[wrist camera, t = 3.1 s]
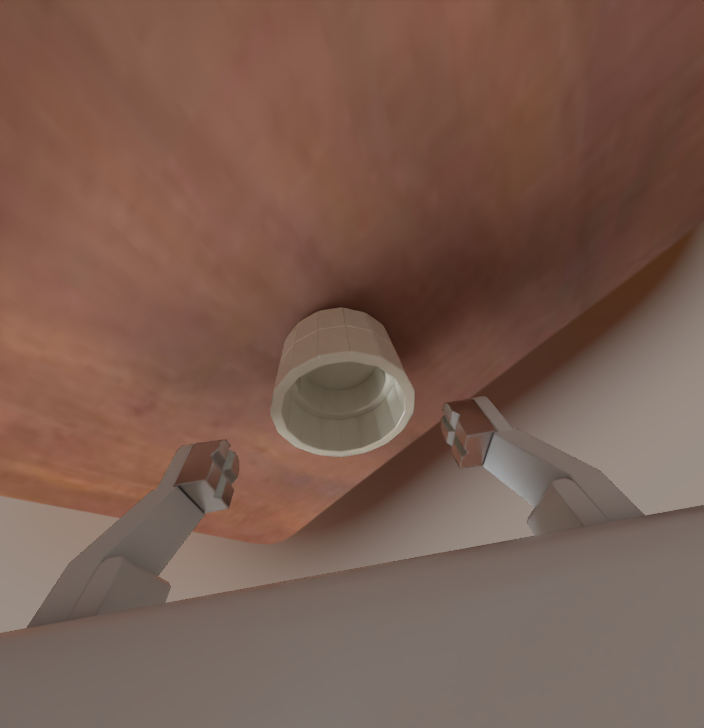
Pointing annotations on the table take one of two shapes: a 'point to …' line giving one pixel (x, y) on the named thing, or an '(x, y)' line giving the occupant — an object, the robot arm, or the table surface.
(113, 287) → the table surface
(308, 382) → the cup
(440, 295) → the table surface
